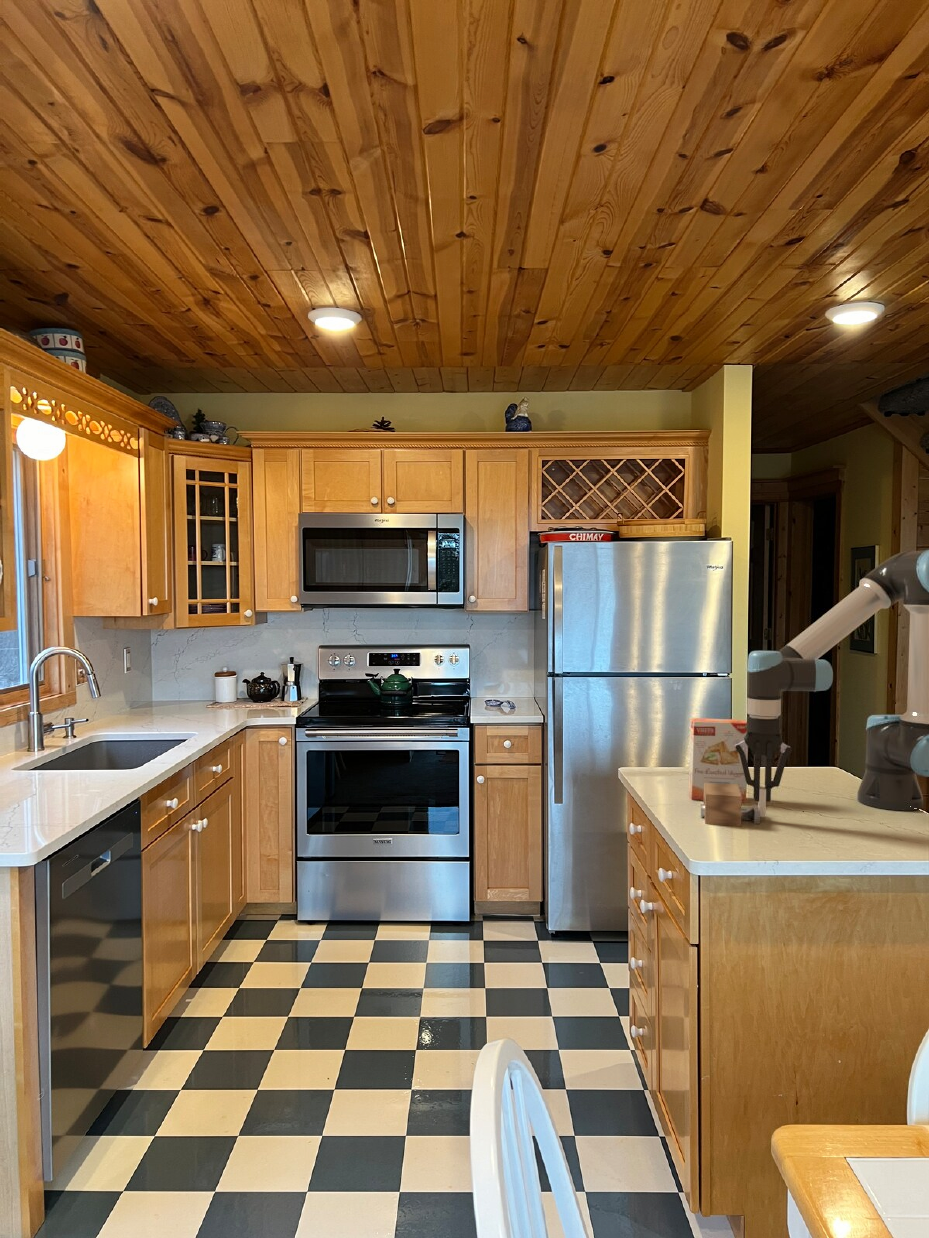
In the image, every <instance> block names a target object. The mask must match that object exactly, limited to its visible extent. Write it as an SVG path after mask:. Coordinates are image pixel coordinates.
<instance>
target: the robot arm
mask: <svg viewBox="0 0 929 1238" xmlns="http://www.w3.org/2000/svg"><path fill="white" fill-rule="evenodd" d="M858 585H859V586H858V587H856V588H855V589H854V590H853V591H852V592H850V593H849V594H848V595H847V596H846V597H844V598H843V599H842V600H840V601H839V602H838V603H837V604H836V605H834V606H833V607H832V608H831V609H829V610H828V611H827V612H826V613H824V614H823V615H822V616H821V617H819V618H818V619H817V620H816V621H815V622H813V623H812V624H811V625H809V626H808V627H807V628H805V630H804V631H802V632H801V633H799V634H798V635H797V636H796V637H794V638H793V639H792V640H791V641H790V642H788V643H787V644H786V645H785V646H783V647H782V648H780V649H779V650H752V651H750V653H749V654H748V659H747V669H746V671H747V697H746V698H747V699H746V700H747V701H746V704H747V705H746V713H747V715H748V716H747V717H746V722H747V733H746V736H745V738H744V741H742V742H740V743H739V744H738V743H736V744H735V748H736V750H737V751H738V753H739V754H740V759H741V763H742V767H743V771H744V776H745V780H746V783H747V786H750V787H753V800H754V802H757V805H758V808H759V810H760V817H766V816H767V815H766V812H767V811H766V810H767V809H766V807H767V806H766V805H767V803H771V801H772V800H771V799H772V796H771V795H772V789H773V788H775V787H779V786H780V783H781V780H782V778H783V773H784V769H785V767H786V763H787V760H788V756H790V754H791V753H792V752H793V748H792V747H791V746H790V745H788V744H785V743H784V742H783V739H782V736H781V718H780V716H781V715H782V711H781V710H782V709H781V708H782V705H781V704H782V701H781V700H782V692H788V691H789V692H790V691H792V692H814V693H816V692H820V691H821V692H822V691H827V690H829V689H830V688H831V686H832V684H833V680H834V672H833V667H832V665H831V663H830V662H829V661H827V660H826V659H819V658H821V657H822V656H823V655H825V654H826V653H827V652H828V651H829V650H831V649H832V648H833V647H835V646H836V645H837V644H838V643H839V642H841V641H842V640H843V639H845V638H846V637H847V636H849V635H850V634H851V633H852V632H853V631H855V630H856V629H857V628H858V627H860V626H861V625H863V624H864V622H866V621H867V620H869V619H870V618H871V617H872V616H873V615H874V614H876V613H877V612H879V610H881V609H882V610H883V609H889V608H890V607H891V606H892V605H894V604H896V603H897V602H899V601H901V600H902V601H903V602H902V603H903V604H902V605H903V607H904V608H905V609H906V610H907V611H908V612H909V639H908V641H909V643H908V673H907V696H906V697H907V698H906V699H907V702H906V703H907V704H906V711H905V712H904V713H903V714H871V715H870V716H868V717H867V720H866V728H865V731H866V733H865V734H866V739H865V740H866V741H865V742H866V743H865V744H866V745H865V772H864V775H863V777H862V779H861V782H860V784H859V787H858V790H857V801H858V802H860V803H861V804H862V805H866V806H868V807H873V808H879V809H883V810H890V811H891V810H893V811H917V810H916V809H914V808H917V809H918V810H921V809H923V808H924V796H923V794H922V793H923V792H922V790H921V788H920V785H919V784H920V783H919V781H918V778H917V777H918V776H921V777H928V778H929V549H923V550H908V551H906V550H905V551H902V552H899V553H896V554H894V555H893V556H891V557H889V558H887V559H886V560H884V561H883V562H882V563H880V564H878V565H877V566H876V567H875V568H874V569H872V570H871V571H870V572H869V573H867V574H866V575H865V576H864V577H863V578H862V579H859V584H858ZM746 745H747V746H748V750H750V751H751V753H752V754H753V779H752V777H751V773H750V768H749V765H748V759H747V760H746V756H745V753H744V751H745V750H746V747H745V746H746ZM779 749H780V752H781V753H780V755H779V758H778V762H777V766H776V770H775V772H774V776H773V780H772V774H773V773H772V771H773V766H772V765H773V764H772V763H773V762H772V761H773V755H774V754H775V753H776V752H777V751H778V750H779ZM762 756H764V786H761V757H762ZM917 775H918V776H917ZM910 806H911V807H910Z"/></svg>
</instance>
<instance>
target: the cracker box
mask: <svg viewBox="0 0 929 1238" xmlns="http://www.w3.org/2000/svg"><path fill="white" fill-rule="evenodd" d="M746 733H747V720H745V719H731V718H728V719H727V718H707V717H706V718H703V717H702V718H699V717H690V733H689V734H690V735H689V737H690V739H689V771H688V772H689V774H688V795H689V798H690V799H691V800H692V801H697V800H698V801H704V783H719V784H735V785H738V787H739V790H740V793H741V796H742V803H746V802H747V789H748V788H747V786H748V784H747V783H746V780H745V776H744V771H743V767H742V763H741V759H740V754H739V753H738V751H737V750H736V748H735V744H736V743H738V744H739V743H740V742H742V741H744V738H745V736H746ZM745 747H746V750H745V751H744V753H745V756H746V760H747V761H748V756H749V755H748V754H749V753H748V752H749V747H748V746H747V745H746V746H745Z"/></svg>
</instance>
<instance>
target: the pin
mask: <svg viewBox="0 0 929 1238" xmlns="http://www.w3.org/2000/svg"><path fill="white" fill-rule="evenodd" d="M700 817H701V818H705V804H704V803H703V804H700ZM744 820H745V821H752V822H753V823H754V825H755V824H756V825H760V824H761V823H760V822H761V816H760V810H759V808H758V804H752V805H751V807H748V806H741V821H744Z"/></svg>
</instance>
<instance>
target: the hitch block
mask: <svg viewBox="0 0 929 1238" xmlns="http://www.w3.org/2000/svg"><path fill="white" fill-rule="evenodd" d="M742 803H743V802H742V796H741V793H740V790H739V787H738V785H735V784H719V783H704V800H703V804H705V817H704V824H706V825H716V826H717V825H718V826H733V827H742V820H741V807H742Z"/></svg>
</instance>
